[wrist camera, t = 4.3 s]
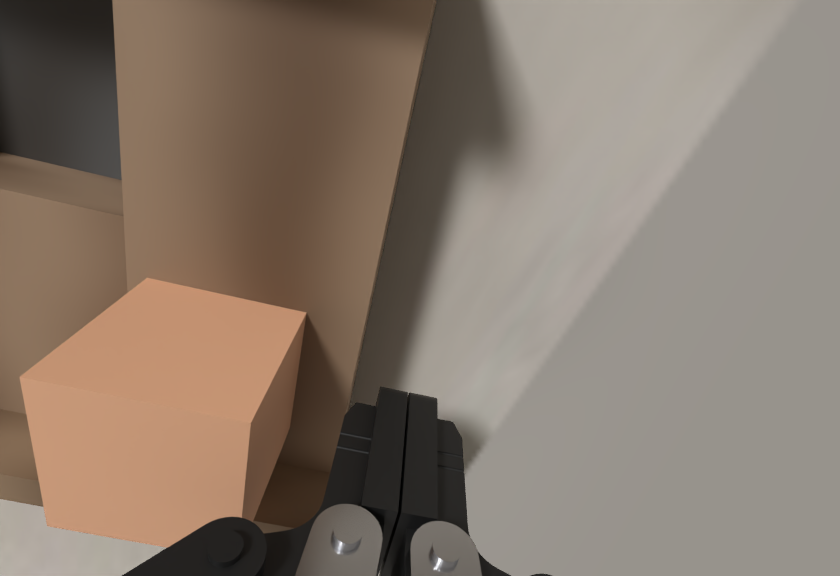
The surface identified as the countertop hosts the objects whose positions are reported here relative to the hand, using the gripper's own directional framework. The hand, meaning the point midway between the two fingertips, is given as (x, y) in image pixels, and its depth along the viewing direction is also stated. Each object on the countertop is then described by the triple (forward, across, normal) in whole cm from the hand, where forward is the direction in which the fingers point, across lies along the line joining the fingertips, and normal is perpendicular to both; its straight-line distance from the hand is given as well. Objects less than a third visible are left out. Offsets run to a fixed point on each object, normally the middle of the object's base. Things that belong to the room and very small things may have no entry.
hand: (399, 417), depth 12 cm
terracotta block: (+1, +5, 0) cm, 5 cm away
